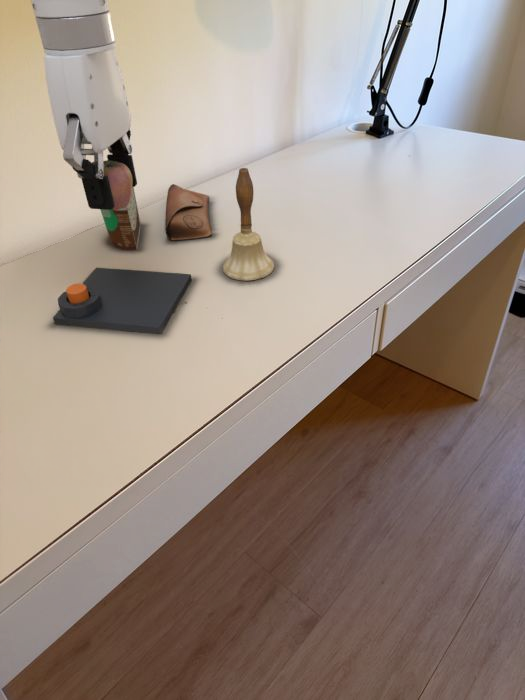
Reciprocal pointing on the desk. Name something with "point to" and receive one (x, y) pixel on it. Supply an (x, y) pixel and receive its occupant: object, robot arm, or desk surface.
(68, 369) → the desk surface
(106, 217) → the food container
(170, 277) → the scale
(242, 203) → the hand bell
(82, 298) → the button
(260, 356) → the desk surface
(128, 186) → the apple
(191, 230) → the sunglasses case
